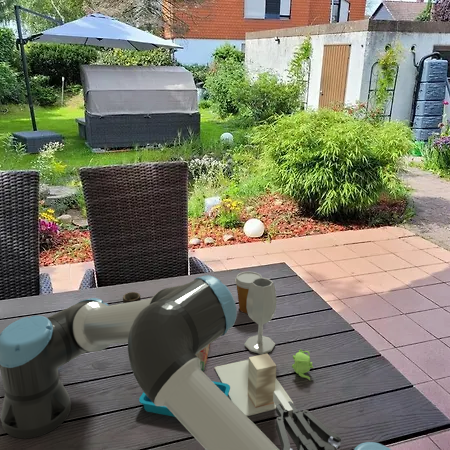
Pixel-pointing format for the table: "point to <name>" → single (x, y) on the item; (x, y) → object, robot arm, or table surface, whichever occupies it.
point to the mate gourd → (131, 297)
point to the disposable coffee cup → (244, 287)
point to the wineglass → (261, 313)
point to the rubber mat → (243, 387)
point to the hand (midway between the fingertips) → (276, 395)
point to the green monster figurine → (302, 363)
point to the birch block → (261, 380)
